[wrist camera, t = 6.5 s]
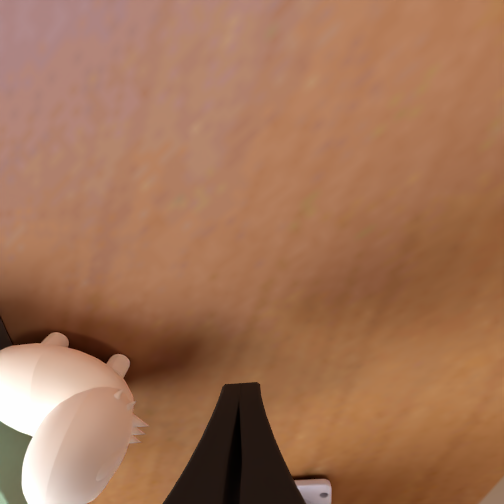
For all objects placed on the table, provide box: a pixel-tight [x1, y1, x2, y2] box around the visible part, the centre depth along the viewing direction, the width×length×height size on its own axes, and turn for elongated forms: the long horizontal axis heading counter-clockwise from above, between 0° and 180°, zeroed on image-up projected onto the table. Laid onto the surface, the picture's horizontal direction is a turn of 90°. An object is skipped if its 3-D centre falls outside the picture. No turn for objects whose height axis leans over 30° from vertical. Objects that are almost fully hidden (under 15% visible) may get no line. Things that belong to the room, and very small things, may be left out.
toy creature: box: [0, 332, 149, 504], centre depth 13 cm, size 5×8×6 cm, turn 65°
